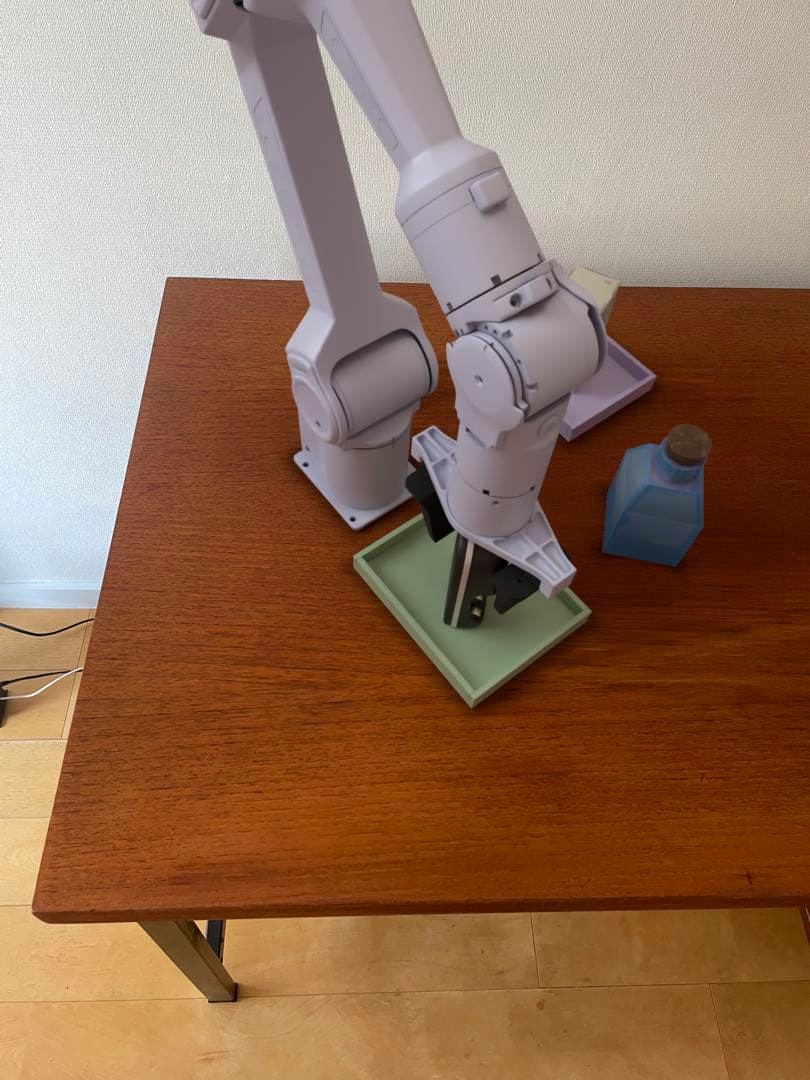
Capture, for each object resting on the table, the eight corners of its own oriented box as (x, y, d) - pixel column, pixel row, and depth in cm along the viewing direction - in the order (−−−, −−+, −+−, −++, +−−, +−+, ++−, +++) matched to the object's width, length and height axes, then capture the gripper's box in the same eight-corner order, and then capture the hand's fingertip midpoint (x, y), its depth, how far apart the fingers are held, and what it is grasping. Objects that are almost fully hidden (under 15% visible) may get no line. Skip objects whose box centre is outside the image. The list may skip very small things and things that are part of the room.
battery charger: (489, 637, 62) (513, 564, 52) (441, 628, 62) (456, 554, 52) (498, 560, 66) (522, 479, 56) (453, 553, 66) (468, 470, 56)
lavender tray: (476, 357, 78) (479, 342, 76) (558, 311, 82) (562, 297, 80) (568, 442, 73) (573, 429, 71) (650, 389, 77) (657, 375, 75)
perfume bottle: (676, 566, 67) (733, 483, 56) (602, 552, 67) (645, 466, 57) (677, 506, 70) (731, 417, 60) (607, 493, 70) (648, 401, 60)
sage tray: (353, 567, 65) (352, 555, 64) (465, 496, 69) (467, 483, 68) (471, 709, 59) (474, 700, 58) (586, 621, 64) (592, 611, 62)
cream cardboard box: (555, 344, 79) (578, 261, 70) (595, 362, 78) (624, 280, 69) (531, 377, 76) (552, 295, 68) (573, 396, 75) (600, 315, 67)
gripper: (630, 507, 48) (578, 609, 59) (474, 361, 53) (454, 480, 65) (544, 568, 45) (507, 662, 57) (390, 408, 51) (385, 523, 63)
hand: (474, 568), depth 61 cm, fingers open, 7 cm apart
